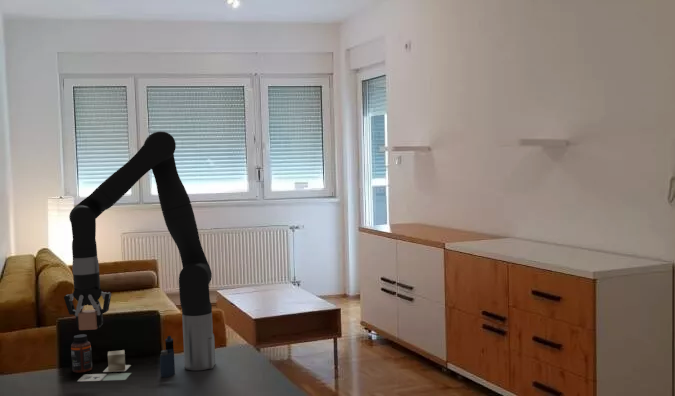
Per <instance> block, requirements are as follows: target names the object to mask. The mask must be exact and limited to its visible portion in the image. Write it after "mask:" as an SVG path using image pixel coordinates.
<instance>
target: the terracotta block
mask: <svg viewBox="0 0 675 396" xmlns="http://www.w3.org/2000/svg"><path fill="white" fill-rule="evenodd" d="M78 321H79V328H78V330H79V331H88V330H89V331H91V330H98V328H99V327H97V314H96V311H95V309H83V310H82V311H81V312H80V313H78Z"/></svg>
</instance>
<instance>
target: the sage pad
mask: <svg viewBox="0 0 675 396" xmlns="http://www.w3.org/2000/svg"><path fill="white" fill-rule="evenodd" d="M131 374H132V372H121V373H120V372H119V373H117V372H113V373H107V374H106V375H105V377H104V378H103V379H102V380H101V381H103V382H104V381H126V380H127V379H128V378H129V376H130V375H131Z"/></svg>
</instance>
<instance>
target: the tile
mask: <svg viewBox="0 0 675 396" xmlns="http://www.w3.org/2000/svg"><path fill="white" fill-rule="evenodd" d="M131 366H132V365H131V364H125V370H118V371H109V370H108V366H107V367H106V368H105V369H104V370H103V371H102V372H103V373H112V372H113V373H117V372H119V373H120V372H121V373H122V372H126V371H127V370H128V369H129V368H130V367H131Z"/></svg>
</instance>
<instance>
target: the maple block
mask: <svg viewBox="0 0 675 396" xmlns="http://www.w3.org/2000/svg"><path fill="white" fill-rule="evenodd" d="M125 353H126V352H125V349H122V350H111V351H110V350H109V351H107V365H108V366H107V367H108V370H109V371H118V370H125V365H126V354H125Z"/></svg>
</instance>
